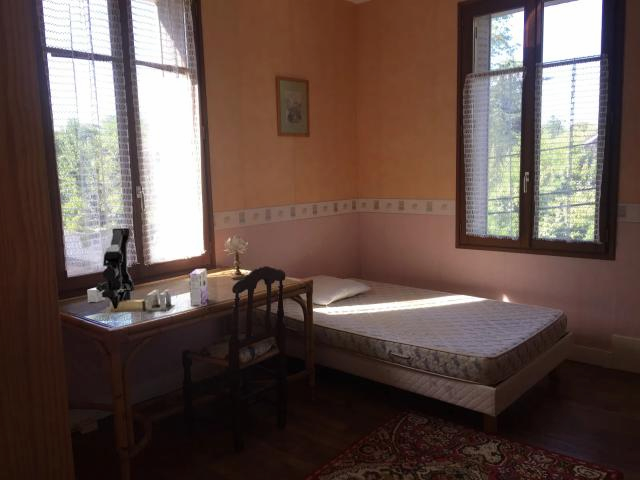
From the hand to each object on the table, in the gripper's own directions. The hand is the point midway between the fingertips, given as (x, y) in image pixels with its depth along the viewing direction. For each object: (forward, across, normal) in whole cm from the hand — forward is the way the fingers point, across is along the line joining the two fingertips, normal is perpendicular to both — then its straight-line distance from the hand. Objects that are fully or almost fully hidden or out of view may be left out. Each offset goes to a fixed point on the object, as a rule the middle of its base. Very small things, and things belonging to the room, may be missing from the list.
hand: (117, 307), depth 261 cm
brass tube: (+1, 0, +7) cm, 7 cm away
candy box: (+2, -14, +37) cm, 40 cm away
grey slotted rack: (+2, 0, +10) cm, 10 cm away
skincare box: (+2, -20, -19) cm, 28 cm away
